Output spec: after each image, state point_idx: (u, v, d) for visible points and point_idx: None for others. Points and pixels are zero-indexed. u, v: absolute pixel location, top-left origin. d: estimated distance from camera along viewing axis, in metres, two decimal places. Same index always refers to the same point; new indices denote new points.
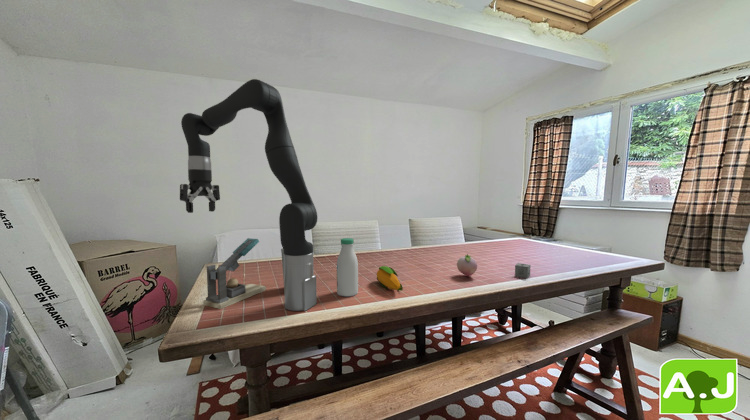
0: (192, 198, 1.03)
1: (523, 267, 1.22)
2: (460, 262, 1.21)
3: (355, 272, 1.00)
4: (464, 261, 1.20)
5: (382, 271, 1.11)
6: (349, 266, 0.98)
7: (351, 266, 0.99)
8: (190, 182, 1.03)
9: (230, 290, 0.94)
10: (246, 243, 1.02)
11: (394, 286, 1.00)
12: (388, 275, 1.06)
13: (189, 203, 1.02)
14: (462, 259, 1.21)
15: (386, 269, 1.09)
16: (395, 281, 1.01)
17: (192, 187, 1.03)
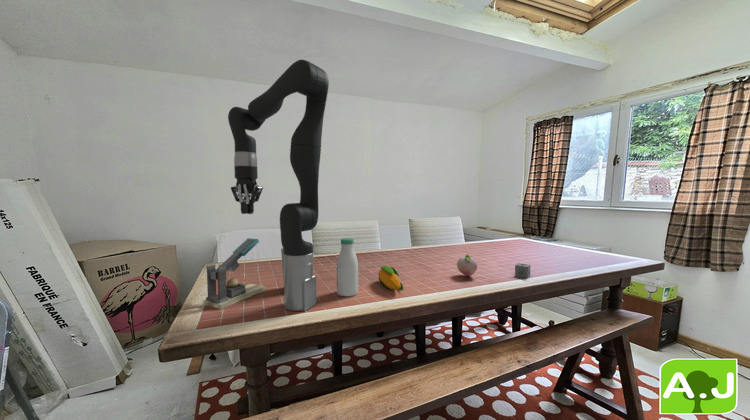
0: None
1: (523, 267, 1.22)
2: (460, 262, 1.21)
3: (355, 272, 1.00)
4: (464, 261, 1.20)
5: (383, 271, 1.11)
6: (349, 266, 0.98)
7: (351, 266, 0.99)
8: (254, 179, 1.00)
9: (230, 290, 0.94)
10: (246, 243, 1.02)
11: (394, 286, 1.00)
12: (389, 275, 1.06)
13: None
14: (462, 259, 1.21)
15: (387, 269, 1.09)
16: (395, 281, 1.01)
17: None
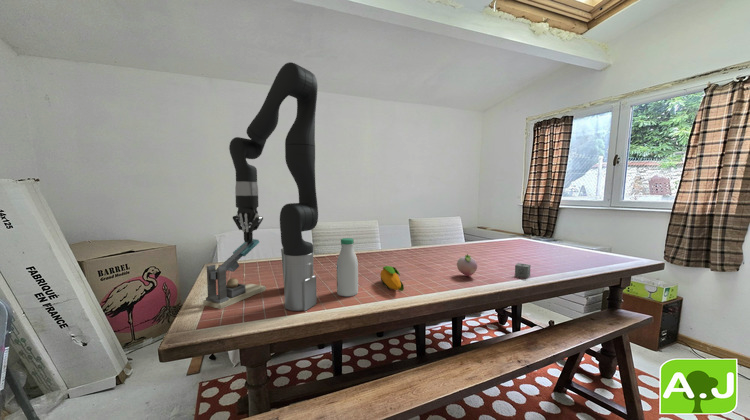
0: None
1: (523, 267, 1.22)
2: (460, 262, 1.21)
3: (355, 272, 1.00)
4: (464, 261, 1.20)
5: (385, 271, 1.11)
6: (349, 266, 0.98)
7: (351, 266, 0.99)
8: (255, 208, 1.01)
9: (230, 290, 0.94)
10: (246, 243, 1.03)
11: (394, 286, 1.00)
12: (390, 275, 1.06)
13: None
14: (462, 259, 1.21)
15: (389, 269, 1.09)
16: (395, 281, 1.01)
17: None
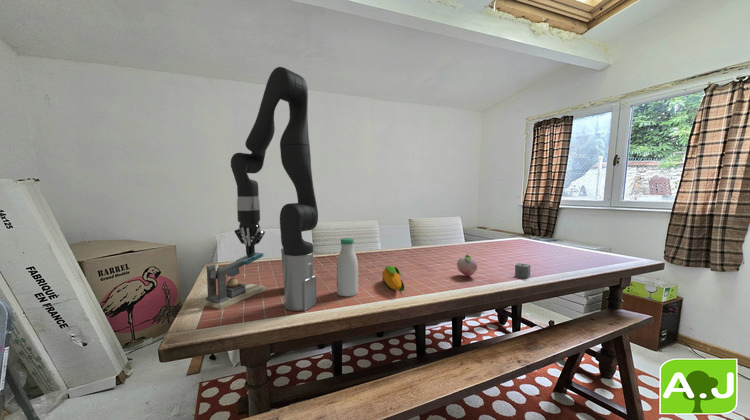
0: None
1: (523, 267, 1.22)
2: (460, 262, 1.21)
3: (355, 272, 1.00)
4: (464, 261, 1.20)
5: (387, 271, 1.11)
6: (349, 266, 0.98)
7: (351, 266, 0.99)
8: (256, 223, 1.02)
9: (230, 290, 0.94)
10: None
11: (394, 286, 1.00)
12: (391, 275, 1.06)
13: None
14: (462, 259, 1.21)
15: (390, 269, 1.09)
16: (396, 281, 1.01)
17: None
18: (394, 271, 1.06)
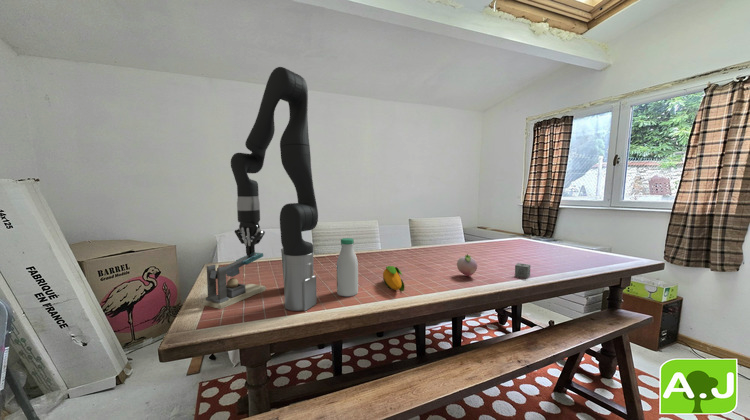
0: None
1: (523, 267, 1.22)
2: (460, 262, 1.21)
3: (355, 272, 1.00)
4: (464, 261, 1.20)
5: (387, 271, 1.11)
6: (349, 266, 0.98)
7: (351, 266, 0.99)
8: (256, 223, 1.02)
9: (230, 290, 0.94)
10: None
11: (394, 286, 1.00)
12: (391, 275, 1.06)
13: None
14: (462, 259, 1.21)
15: (390, 269, 1.09)
16: (396, 281, 1.01)
17: None
18: (394, 271, 1.06)
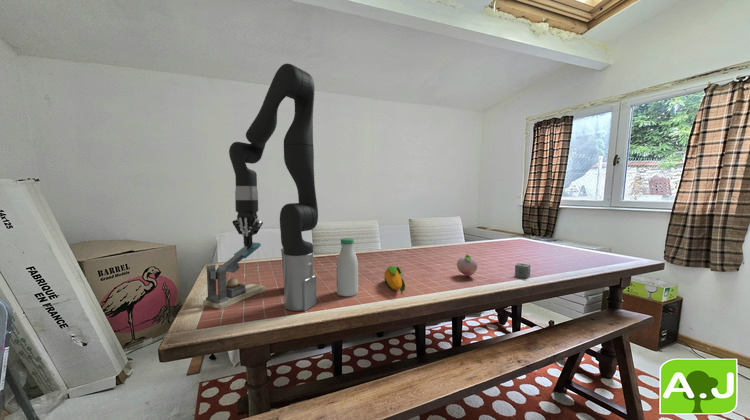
0: None
1: (523, 267, 1.22)
2: (460, 262, 1.21)
3: (355, 272, 1.00)
4: (464, 261, 1.20)
5: (388, 271, 1.11)
6: (349, 266, 0.98)
7: (351, 266, 0.99)
8: (254, 213, 1.01)
9: (230, 290, 0.94)
10: None
11: (394, 286, 1.00)
12: (392, 275, 1.06)
13: None
14: (462, 259, 1.21)
15: (391, 269, 1.09)
16: (396, 281, 1.01)
17: None
18: (395, 271, 1.06)
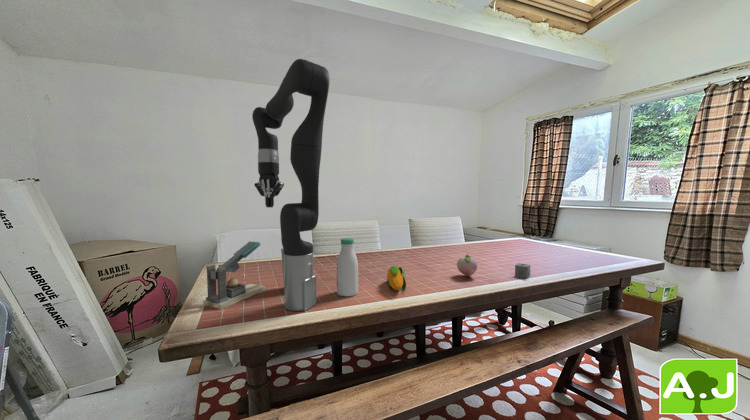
0: None
1: (523, 267, 1.22)
2: (460, 262, 1.21)
3: (355, 272, 1.00)
4: (464, 261, 1.20)
5: (391, 271, 1.11)
6: (349, 266, 0.98)
7: (351, 266, 0.99)
8: (276, 175, 1.06)
9: (230, 290, 0.94)
10: (247, 246, 1.03)
11: (394, 286, 1.00)
12: (393, 275, 1.06)
13: None
14: (462, 259, 1.21)
15: (393, 269, 1.09)
16: (396, 281, 1.01)
17: None
18: (396, 271, 1.06)
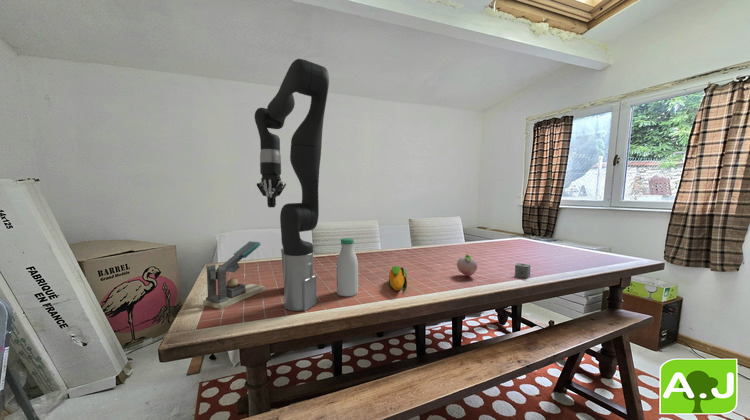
0: None
1: (523, 267, 1.22)
2: (460, 262, 1.21)
3: (355, 272, 1.00)
4: (464, 261, 1.20)
5: (392, 271, 1.11)
6: (349, 266, 0.98)
7: (351, 266, 0.99)
8: (278, 175, 1.07)
9: (230, 290, 0.94)
10: (247, 246, 1.03)
11: (394, 286, 1.00)
12: (394, 275, 1.05)
13: None
14: (462, 259, 1.21)
15: (394, 269, 1.09)
16: (396, 281, 1.01)
17: None
18: (397, 271, 1.06)
